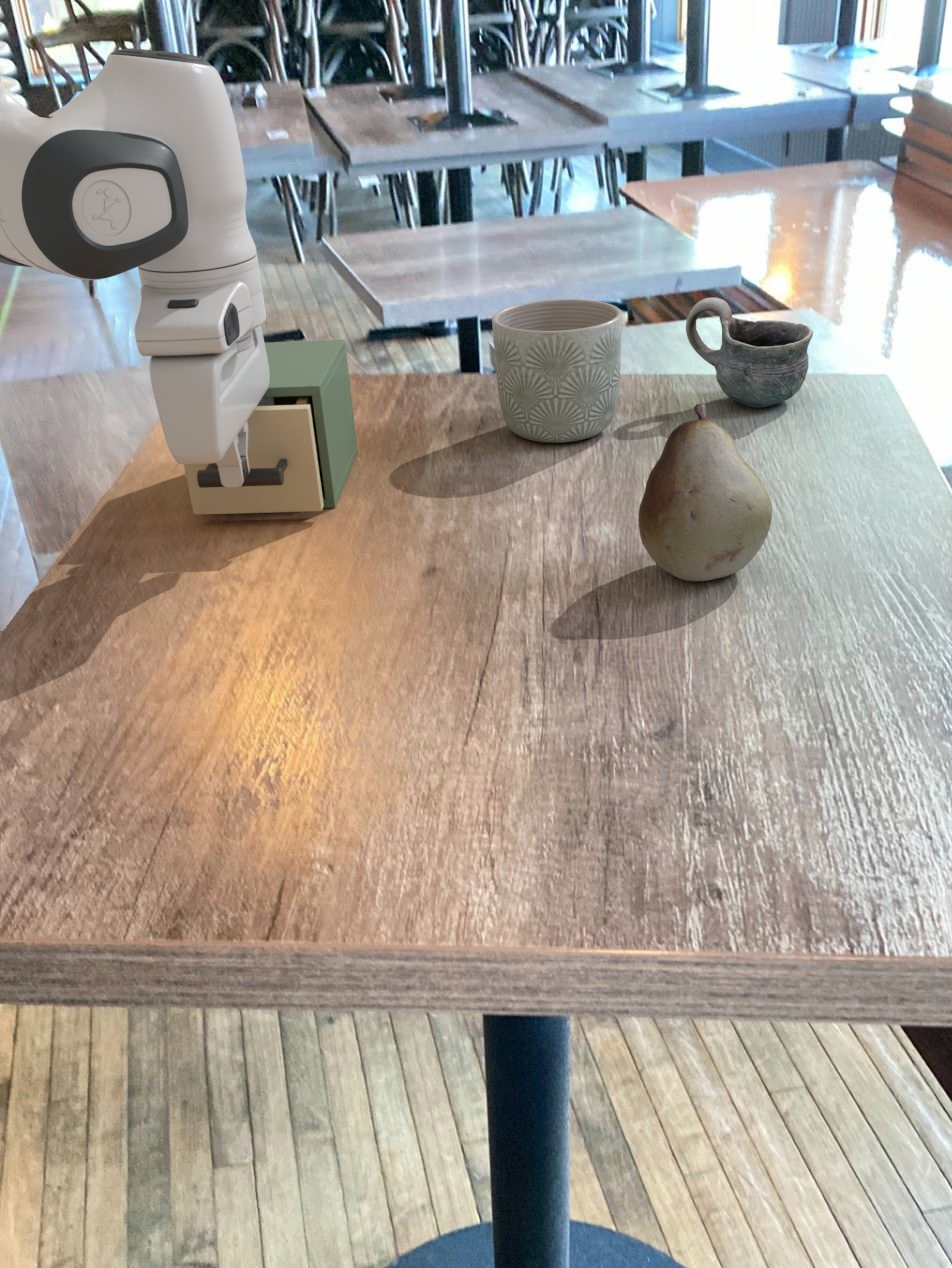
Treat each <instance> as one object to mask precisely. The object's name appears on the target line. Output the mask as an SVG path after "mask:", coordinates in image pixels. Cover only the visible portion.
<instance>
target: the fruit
mask: <svg viewBox="0 0 952 1268" xmlns="http://www.w3.org/2000/svg"><path fill="white" fill-rule="evenodd" d="M694 412H695V415H697V418H698V419H694V420H689V421H685V422H683V423H681V424H679V425H678V426H676V427H675V428H674V429H673V430H672V431H671V433H670V434H669V436H668V437H667V440H666V442H665V443H664V446H663V449H662V452H661V455H660V457H659V458H658V459H657V462H656V463H655V465H654V466H653V468H652V469H651V471H650V473H649V475H648V477H647V480H646V484H645V488H644V491H643V492H644V493H643V496H642V499H641V502H640V504H639V508H638V517H637V518H638V519H637V520H638V529H639V536H640V540H641V543H642V546H643V548H644V549H645V550H646V552H647V554H648V555H649V557H650V558H651V559H652V561H653V562H654V563H655V564H656V565H657V566H658V567H659V568H661V569H662V570H664V571H665V572H666V573H669V574H671V576H673V577H675V578H677V579H680V580H684V581H687V582H706V581H707V582H709V581H712V580H716V579H722V578H726V577H728V576H731V575H734V573H735V574H736V573H737V572H739V571H741V570H742V569H744V568H745V567H746V566H747V565H748V564H750V562H751V561H752V560H753V559H754V558H755V556H756V555H757V554H758V553H759V551H760V550H761V549H762V546H763V545H764V543H765V541H766V539H767V537H768V535H769V532H770V530H771V525H772V519H773V505H772V501H771V500H772V499H771V497H770V496H769V493H768V491H767V489H766V487H765V485H764V483H763V481H762V480H761V478H760V476H759V475H758V473H756V472H755V470H754V469H753V468H752V467H751V466H750V465H749V464H748V463H747V461H746V460H745V459H744V457H742V456H741V454H740V453H739V450H738V448H737V445H736V443H735V441H734V439H733V437H732V436H731V435H730V434H729V432H728V431H727V430H726V429H724V428H723V427H721V426H720V425H718V423H716V422H714V421H713V420H710V419H707V413H706V404H705V403H697V404H695V405H694Z"/></svg>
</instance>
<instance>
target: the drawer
mask: <svg viewBox="0 0 952 1268" xmlns="http://www.w3.org/2000/svg"><path fill="white" fill-rule="evenodd" d="M273 400H274V406H256V408H255V409H254V411H253V412H252V414H251V415H250V417H249V418H248V420H247V424H248V453H247V455H248V461H249V467H250V472H249V474H248V476H247V477H246V479H245V480H244V482H243V484H242V486H241V487H229V488H226V487H224V486H223V485H222V483H221V479H220V474H219V469H218V466H217V464H216V463H210V464H183V467H184V472H185V478H186V482H187V487H188V493H189V497H190V503H191V507H192V514H193V515H194V516H198V515H199V516H200V515H230V514H233V515H234V514H235V515H236V514H237V515H238V514H268V513H271V514H273V513H303V512H305V513H306V512H307V513H308V512H322V511H323V509H324V508H323V507H324V504H323V496H322V487H323V485H324V484H323V477H322V469H321V462H320V454H319V447H318V439H317V432H316V424H315V417H314V409H313V402H312V396H289V397H273Z"/></svg>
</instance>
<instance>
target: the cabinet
mask: <svg viewBox="0 0 952 1268" xmlns="http://www.w3.org/2000/svg"><path fill="white" fill-rule="evenodd" d="M265 348H266V353H267V358H268V364H269V372H270V384H269V388H268V390H267V391H266V393H265V394H264V396H263V397H289V396H312V402H313V409H314V417H315V424H316V432H317V439H318V447H319V454H320V462H321V469H322V477H323V484H324V485H323V487H322V496H323V504H324V507H323V509H335V508H336V507H337V504H338V502H339V499H340V498H341V495H342V493H343V491H344V488H345V485H346V483H347V481H348V478H349V476H350V473H351V471H352V468H353V465H354V463H355V460H356V458H357V457H358V454H359V451H358V450H359V449H358V441H357V434H356V433H357V432H356V425H355V424H356V423H355V416H354V415H355V414H354V407H353V406H354V405H353V399H352V389H351V380H350V372H349V364H348V355H347V347H346V340H345V339H326V340H325V339H324V340H299V341H297V340H296V341H273V342H270V341H269V342H265Z"/></svg>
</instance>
